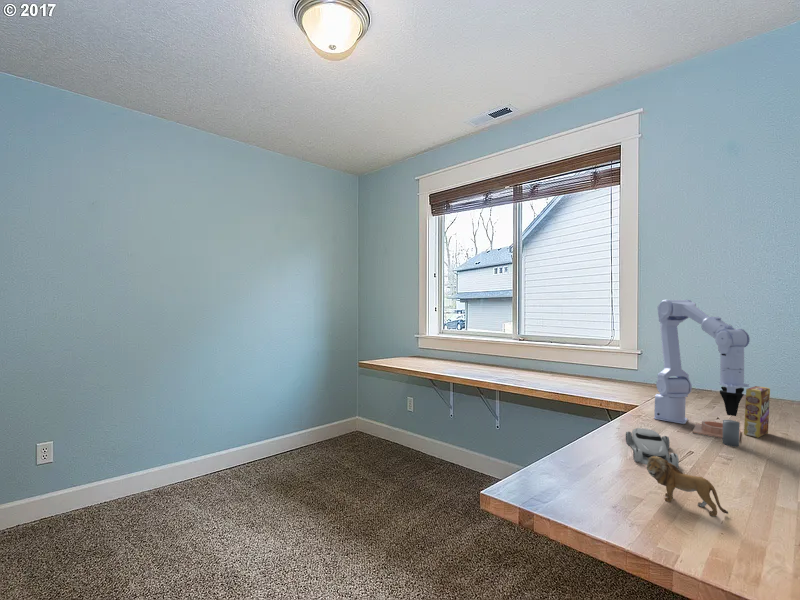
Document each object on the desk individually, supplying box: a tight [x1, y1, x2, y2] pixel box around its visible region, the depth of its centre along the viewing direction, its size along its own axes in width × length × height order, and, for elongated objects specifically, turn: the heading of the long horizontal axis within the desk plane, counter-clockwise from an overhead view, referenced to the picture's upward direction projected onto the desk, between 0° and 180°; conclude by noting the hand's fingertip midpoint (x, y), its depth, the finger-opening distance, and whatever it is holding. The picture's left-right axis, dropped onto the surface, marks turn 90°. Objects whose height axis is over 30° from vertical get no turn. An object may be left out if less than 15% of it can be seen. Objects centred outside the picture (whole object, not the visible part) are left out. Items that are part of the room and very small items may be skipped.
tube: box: [721, 419, 741, 448], centre depth 127 cm, size 4×4×7 cm
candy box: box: [743, 385, 771, 439], centre depth 137 cm, size 9×4×15 cm, turn 123°
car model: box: [625, 427, 680, 468], centre depth 121 cm, size 11×24×5 cm, turn 157°
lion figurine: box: [646, 456, 729, 517], centre depth 90 cm, size 15×5×9 cm, turn 50°
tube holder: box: [692, 420, 741, 443], centre depth 138 cm, size 12×12×3 cm
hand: (732, 412), depth 127 cm, fingers open, 7 cm apart
